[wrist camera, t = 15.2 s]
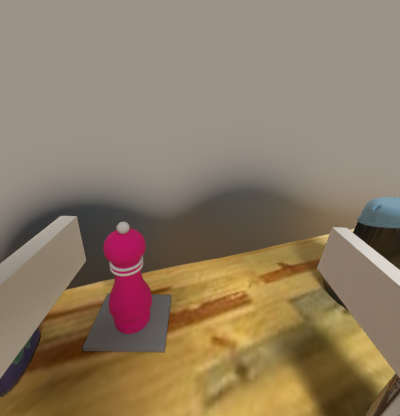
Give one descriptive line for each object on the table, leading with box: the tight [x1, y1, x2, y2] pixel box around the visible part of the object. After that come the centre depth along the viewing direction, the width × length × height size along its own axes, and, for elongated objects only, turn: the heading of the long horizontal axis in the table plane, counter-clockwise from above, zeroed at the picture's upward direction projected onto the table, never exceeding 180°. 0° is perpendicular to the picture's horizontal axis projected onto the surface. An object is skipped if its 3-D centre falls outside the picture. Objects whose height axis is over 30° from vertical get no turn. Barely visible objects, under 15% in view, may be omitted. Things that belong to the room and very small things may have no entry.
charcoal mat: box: [82, 293, 171, 352], centre depth 39 cm, size 13×11×1 cm
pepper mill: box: [104, 222, 152, 334], centre depth 35 cm, size 7×7×20 cm
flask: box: [0, 327, 40, 397], centre depth 30 cm, size 9×3×11 cm, turn 9°
